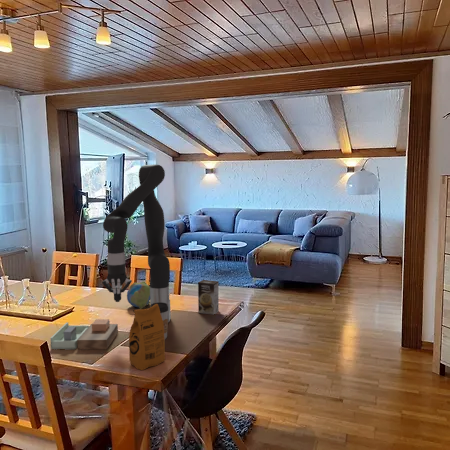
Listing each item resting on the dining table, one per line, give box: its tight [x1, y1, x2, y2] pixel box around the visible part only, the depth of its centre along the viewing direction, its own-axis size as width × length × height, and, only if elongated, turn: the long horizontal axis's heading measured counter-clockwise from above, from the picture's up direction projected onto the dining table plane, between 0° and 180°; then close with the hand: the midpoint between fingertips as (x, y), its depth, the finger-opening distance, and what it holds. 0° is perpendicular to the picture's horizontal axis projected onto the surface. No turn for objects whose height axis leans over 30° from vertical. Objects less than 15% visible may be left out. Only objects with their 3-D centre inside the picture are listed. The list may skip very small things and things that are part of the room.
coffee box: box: [197, 279, 220, 316], centre depth 220 cm, size 9×6×16 cm
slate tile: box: [64, 327, 77, 341], centre depth 181 cm, size 6×6×3 cm
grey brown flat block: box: [77, 323, 119, 350], centre depth 185 cm, size 12×18×4 cm, turn 0°
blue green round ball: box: [126, 281, 150, 309], centre depth 230 cm, size 14×16×15 cm
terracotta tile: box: [91, 318, 111, 331], centre depth 188 cm, size 6×6×3 cm
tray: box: [49, 322, 90, 351], centre depth 185 cm, size 10×18×5 cm, turn 0°
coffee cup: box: [148, 302, 169, 340], centre depth 186 cm, size 8×8×15 cm
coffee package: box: [128, 304, 166, 371], centre depth 162 cm, size 10×12×22 cm
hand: (117, 301), depth 187 cm, fingers closed
